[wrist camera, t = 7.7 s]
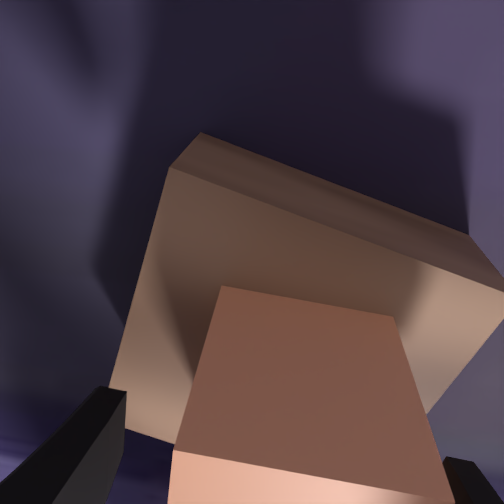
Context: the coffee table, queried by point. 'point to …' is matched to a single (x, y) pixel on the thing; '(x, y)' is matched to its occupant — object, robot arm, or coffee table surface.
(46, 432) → the coffee table surface
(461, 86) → the coffee table surface
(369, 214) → the walnut block
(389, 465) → the terracotta cube
